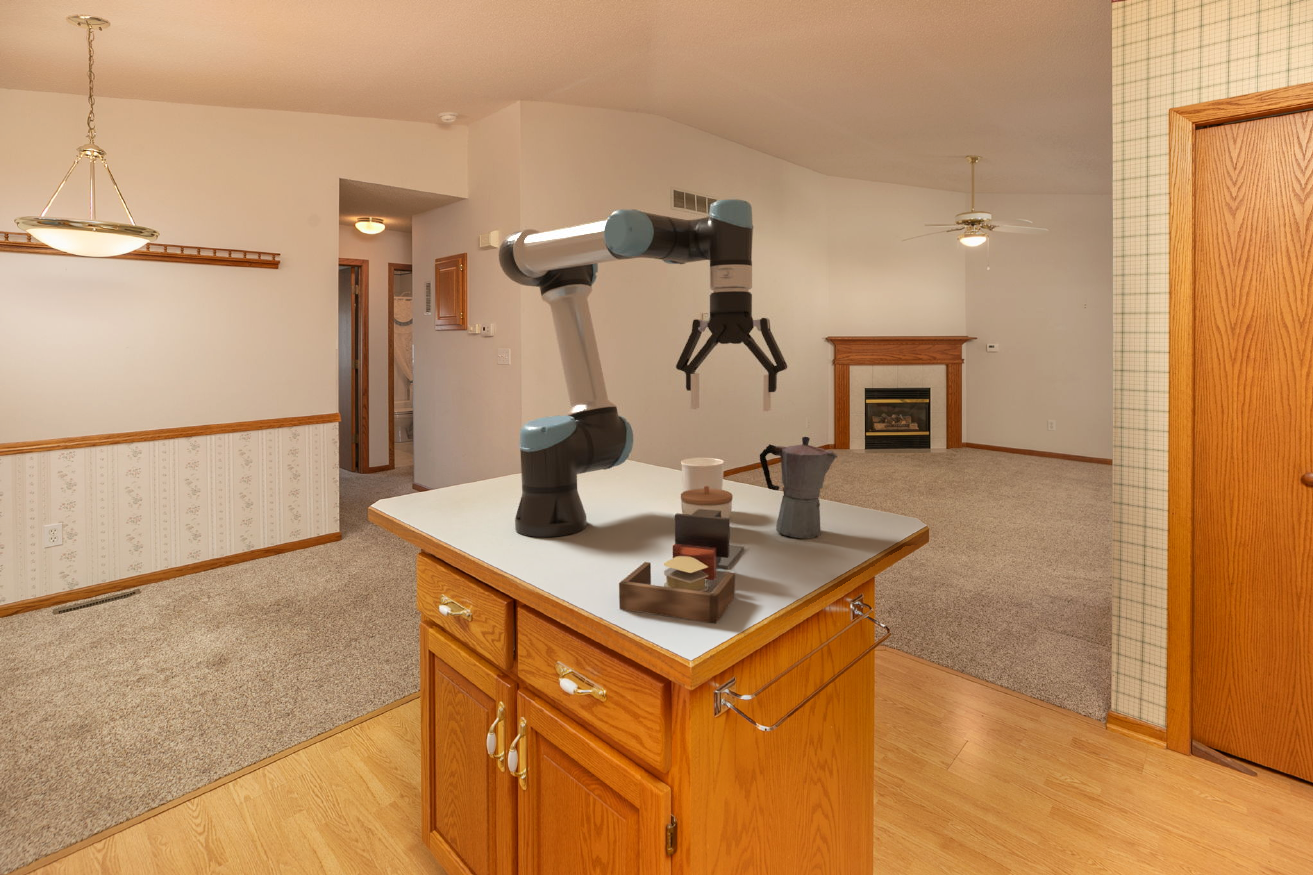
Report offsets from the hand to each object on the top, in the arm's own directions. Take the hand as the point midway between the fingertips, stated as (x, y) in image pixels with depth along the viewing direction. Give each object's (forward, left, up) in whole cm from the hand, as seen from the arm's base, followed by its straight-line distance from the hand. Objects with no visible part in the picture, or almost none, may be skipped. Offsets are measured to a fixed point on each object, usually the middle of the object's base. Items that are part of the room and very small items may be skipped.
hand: (730, 409), depth 122 cm
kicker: (-1, -16, -25) cm, 30 cm away
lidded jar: (-8, +11, -27) cm, 30 cm away
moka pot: (+10, +15, -27) cm, 32 cm away
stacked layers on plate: (-1, -24, -27) cm, 36 cm away
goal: (-1, -28, -27) cm, 38 cm away
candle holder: (-13, +24, -27) cm, 38 cm away
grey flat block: (-1, -5, -27) cm, 27 cm away
